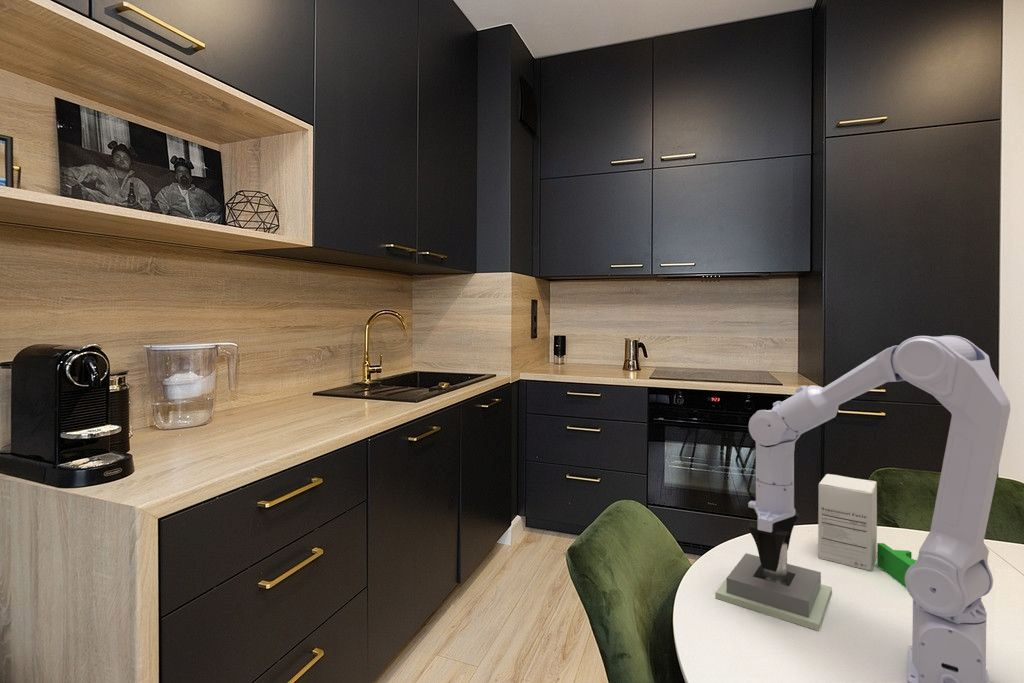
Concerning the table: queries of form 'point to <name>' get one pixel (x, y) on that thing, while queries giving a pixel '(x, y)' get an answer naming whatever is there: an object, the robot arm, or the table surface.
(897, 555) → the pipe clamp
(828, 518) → the supplement box
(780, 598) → the dock
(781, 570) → the silver metal cylinder
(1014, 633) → the table surface
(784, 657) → the table surface
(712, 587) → the table surface
